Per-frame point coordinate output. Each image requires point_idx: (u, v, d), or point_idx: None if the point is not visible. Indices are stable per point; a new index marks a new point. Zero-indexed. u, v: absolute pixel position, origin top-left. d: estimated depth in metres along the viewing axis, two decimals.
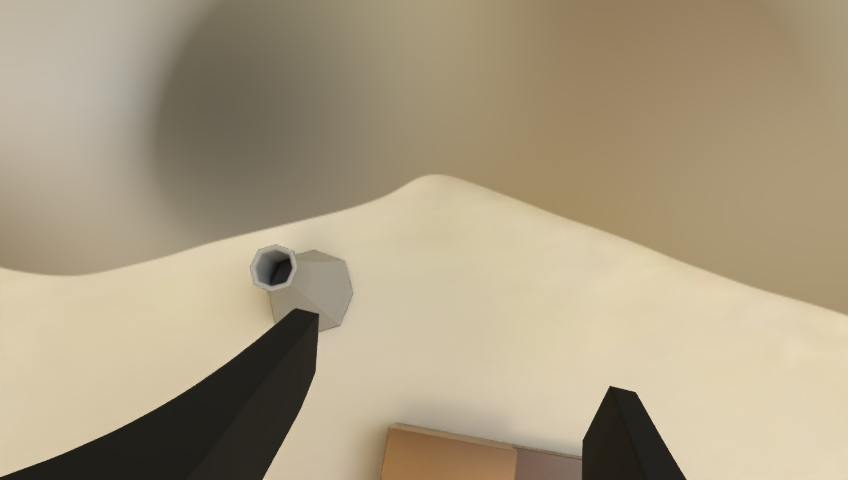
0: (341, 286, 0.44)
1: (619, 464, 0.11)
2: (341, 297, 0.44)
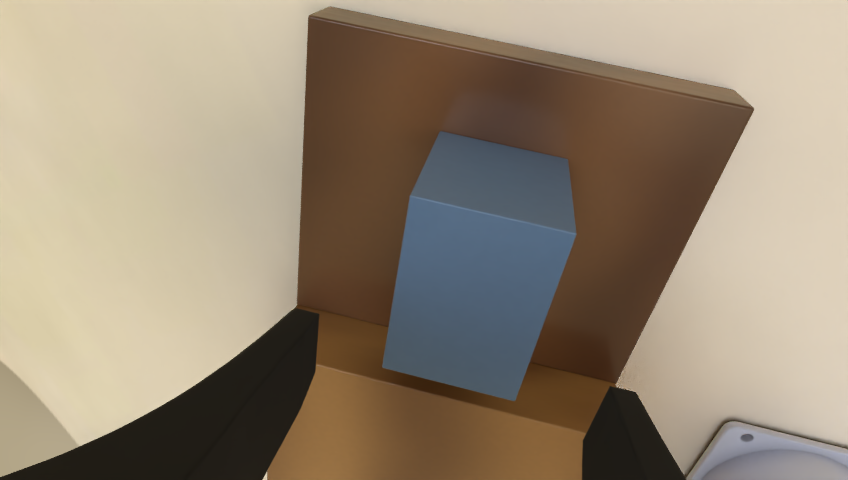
0: None
1: (619, 464, 0.11)
2: None
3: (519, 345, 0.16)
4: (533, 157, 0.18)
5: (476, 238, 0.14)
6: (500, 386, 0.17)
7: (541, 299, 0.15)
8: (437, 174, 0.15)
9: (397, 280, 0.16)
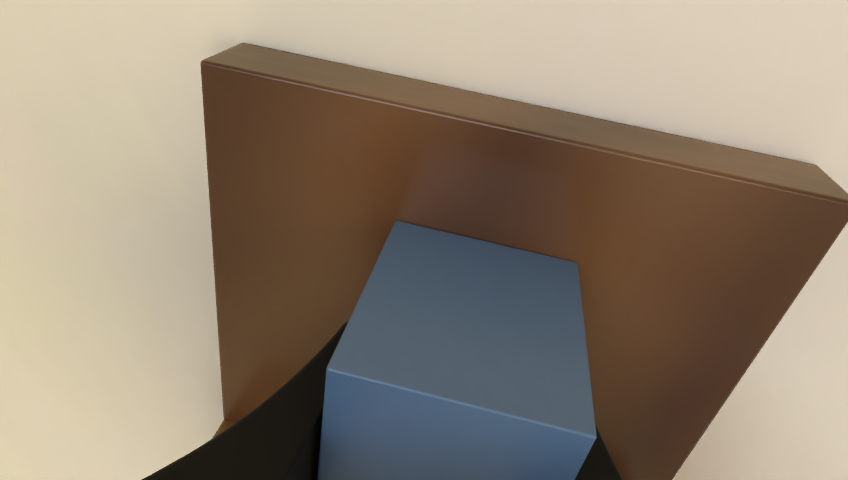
0: None
1: None
2: None
3: None
4: (528, 263, 0.12)
5: (435, 432, 0.09)
6: None
7: None
8: (379, 313, 0.10)
9: (319, 473, 0.10)
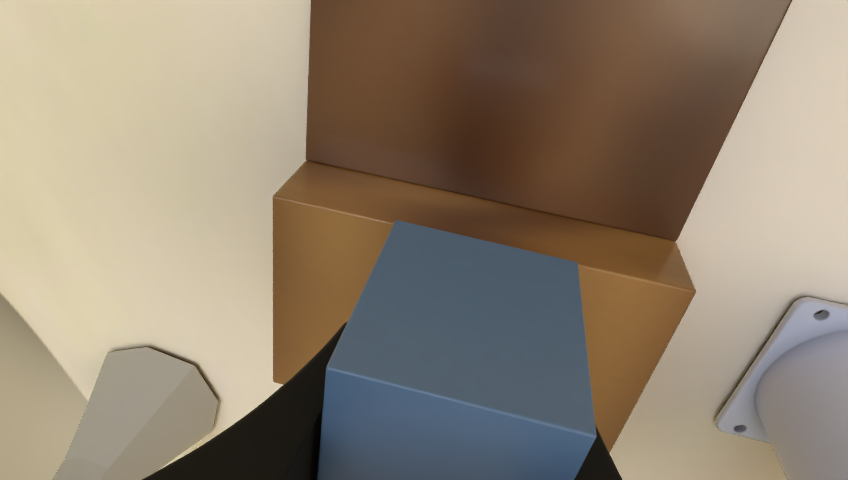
0: (128, 374, 0.29)
1: None
2: (144, 374, 0.29)
3: None
4: (528, 262, 0.12)
5: (434, 430, 0.09)
6: None
7: None
8: (379, 312, 0.10)
9: (319, 472, 0.10)
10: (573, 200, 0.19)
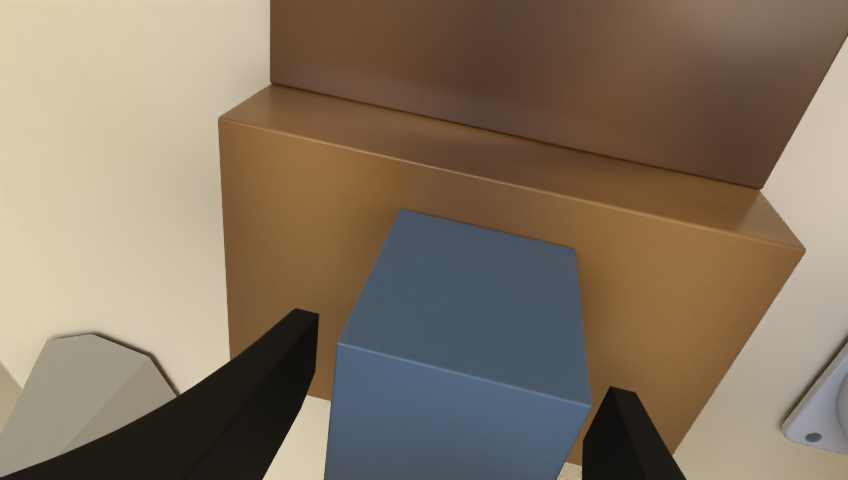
0: (67, 366, 0.24)
1: (619, 464, 0.11)
2: (87, 366, 0.24)
3: None
4: (527, 249, 0.13)
5: (439, 403, 0.09)
6: None
7: None
8: (385, 293, 0.10)
9: (328, 446, 0.11)
10: (625, 133, 0.14)
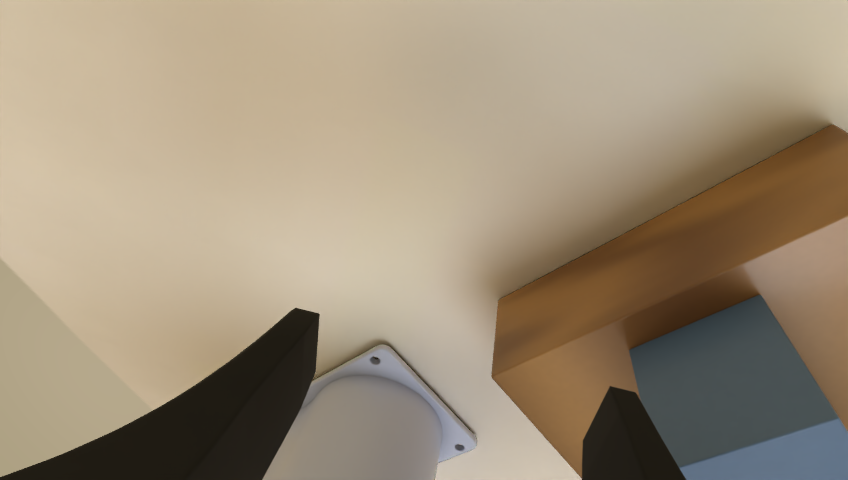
0: None
1: (619, 464, 0.11)
2: None
3: None
4: None
5: None
6: (689, 479, 0.14)
7: None
8: None
9: None
10: None
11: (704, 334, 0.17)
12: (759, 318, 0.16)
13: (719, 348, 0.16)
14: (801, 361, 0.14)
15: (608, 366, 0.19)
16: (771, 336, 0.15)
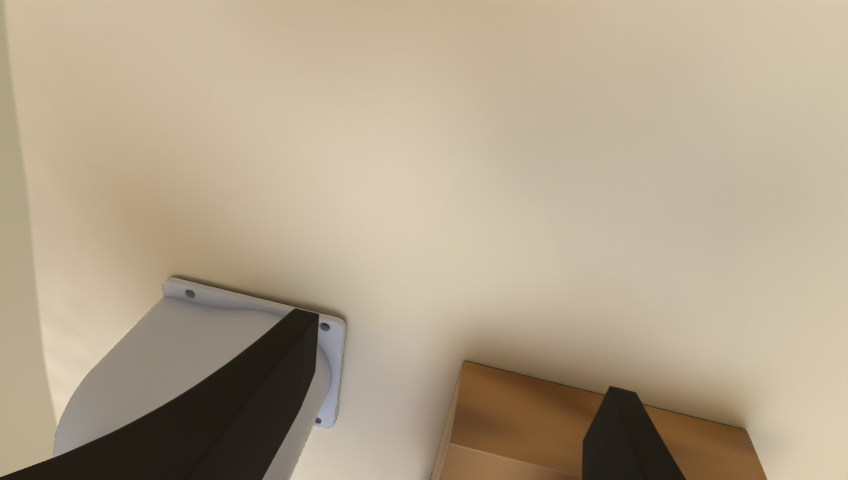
0: None
1: (619, 464, 0.11)
2: None
3: None
4: None
5: None
6: None
7: None
8: None
9: None
10: None
11: None
12: None
13: None
14: None
15: None
16: None
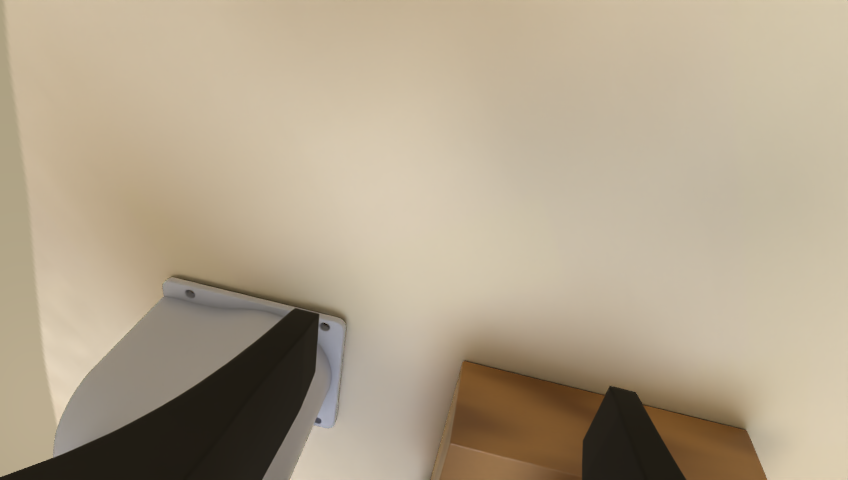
0: None
1: (619, 464, 0.11)
2: None
3: None
4: None
5: None
6: None
7: None
8: None
9: None
10: None
11: None
12: None
13: None
14: None
15: None
16: None
